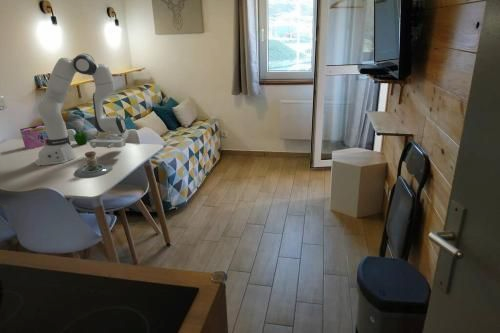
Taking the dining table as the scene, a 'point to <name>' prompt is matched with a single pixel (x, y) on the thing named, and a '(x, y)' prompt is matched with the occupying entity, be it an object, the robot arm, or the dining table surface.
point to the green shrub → (80, 138)
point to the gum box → (34, 136)
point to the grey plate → (85, 173)
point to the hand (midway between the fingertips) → (100, 146)
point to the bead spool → (91, 161)
